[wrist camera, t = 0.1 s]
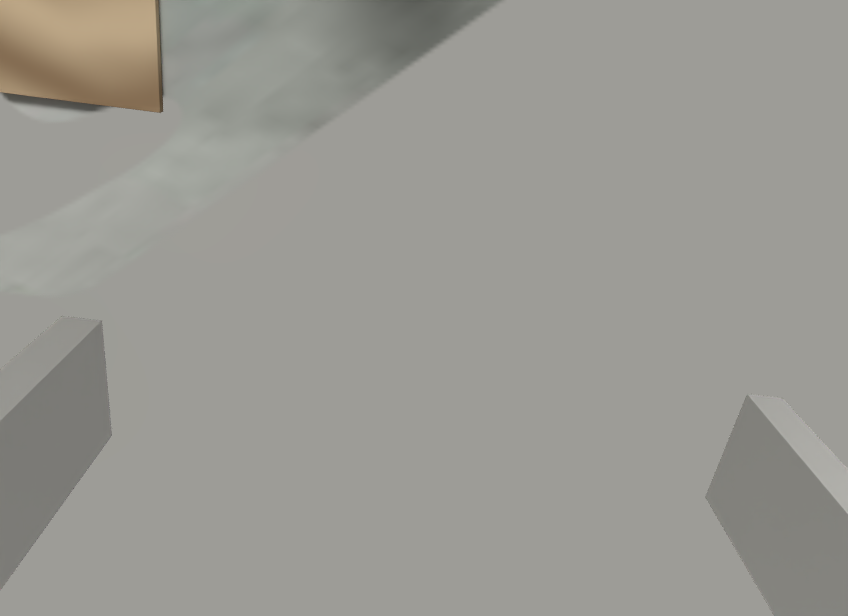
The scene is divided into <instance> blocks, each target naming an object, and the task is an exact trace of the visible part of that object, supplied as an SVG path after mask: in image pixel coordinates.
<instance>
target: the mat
mask: <svg viewBox="0 0 848 616" xmlns="http://www.w3.org/2000/svg"><path fill="white" fill-rule="evenodd" d="M0 92H3V93H11V94H19V95H26V96H34V97H42V98H50V99H57V100H65V101H73V102H81V103H89V104H96V105H104V106H112V107H120V108H128V109H136V110H143V111H151V112H159V113H160V112H163V97H162V73H161V49H160V25H159V1H158V0H0Z"/></svg>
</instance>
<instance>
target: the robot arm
mask: <svg viewBox="0 0 848 616" xmlns="http://www.w3.org/2000/svg"><path fill="white" fill-rule="evenodd" d="M111 436H112V432H111V421H110V409H109V398H108V386H107V374H106V362H105V351H104V340H103V329H102V321H101V320H91V319H84V318H75V317H65V316H61V317H60V318H59V319H58V320H57V321H55V322H54V323H53V324H52V325H51V326H50V327H48V328H47V329H46V330H45V331H44V332H43V333H41V334H40V335H39V336H38V337H37V338H36V339H35V340H34V341H32V342H31V343H30V344H29V345H28V346H27V347H25V348H24V349H23V350H22V351H21V352H19V354H17V355H16V356H15V357H14V358H13V359H11V360H10V361H9V362H8V363H7V364H6V365H4V366H3V367H2V368H1V369H0V590H1V589H2V588H3V586H4V585H5V583H6V582H7V581H8V579H9V578H10V576H11V575H12V574H13V572H14V571H15V569H16V568H17V567H18V565H19V564H20V562H21V561H22V560H23V558H24V557H25V556H26V554H27V553H28V551H29V550H30V549H31V547H32V546H33V544H34V543H35V542H36V540H37V539H38V537H39V536H40V535H41V533H42V532H43V531H44V529H45V528H46V526H47V525H48V524H49V522H50V521H51V519H52V518H53V517H54V515H55V514H56V512H57V511H58V509H59V508H60V507H61V506H62V504H63V503H64V501H65V500H66V499H67V497H68V496H69V494H70V493H71V492H72V490H73V489H74V487H75V486H76V485H77V483H78V482H79V480H80V479H81V478H82V476H83V475H84V473H85V472H86V471H87V469H88V468H89V467H90V465H91V464H92V462H93V461H94V460H95V458H96V457H97V455H98V454H99V453H100V451H101V450H102V448H103V447H104V446H105V444H106V443H107V442H108V440H109V439H110V437H111ZM706 499H707V501H708V502H709V504H710V506H711V508H712V509H713V511H714V513H715V514H716V516H717V518H718V520H719V521H720V523H721V525H722V527H723V528H724V530H725V532H726V534H727V535H728V537H729V539H730V540H731V542H732V544H733V546H734V547H735V549H736V550H737V552H738V554H739V556H740V558H741V559H742V561H743V563H744V565H745V566H746V568H747V570H748V572H749V573H750V575H751V577H752V578H753V580H754V582H755V584H756V585H757V587H758V589H759V591H760V592H761V594H762V596H763V597H764V599H765V601H766V603H767V604H768V606H769V608H770V610H771V611H772V613H773V615H774V616H848V469H847V468H846V467H845V466H844V464H843V463H842V462H841V461H840V460H839V459H838V458H837V457H836V456H835V455H834V454H833V453H832V451H831V450H830V449H829V448H828V447H827V446H826V445H825V444H824V443H823V442H822V441H821V440H820V438H819V437H818V436H817V435H816V434H815V433H814V432H813V431H812V430H811V429H810V428H809V426H807V424H806V423H805V422H804V421H803V420H802V419H801V418H800V417H799V416H798V415H797V413H796V412H795V411H794V410H793V409H792V408H791V407H790V406H789V405H788V404H787V403H786V402H785V401H784V399H783V398H776V397H767V396H759V395H750V394H747V396H746V398H745V401H744V403H743V406H742V408H741V410H740V413H739V415H738V418H737V420H736V423H735V425H734V428H733V430H732V433H731V435H730V437H729V440H728V442H727V445H726V447H725V450H724V452H723V455H722V457H721V460H720V462H719V465H718V467H717V470H716V472H715V474H714V477H713V479H712V482H711V485H710V487H709V489H708V492H707V494H706Z"/></svg>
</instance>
